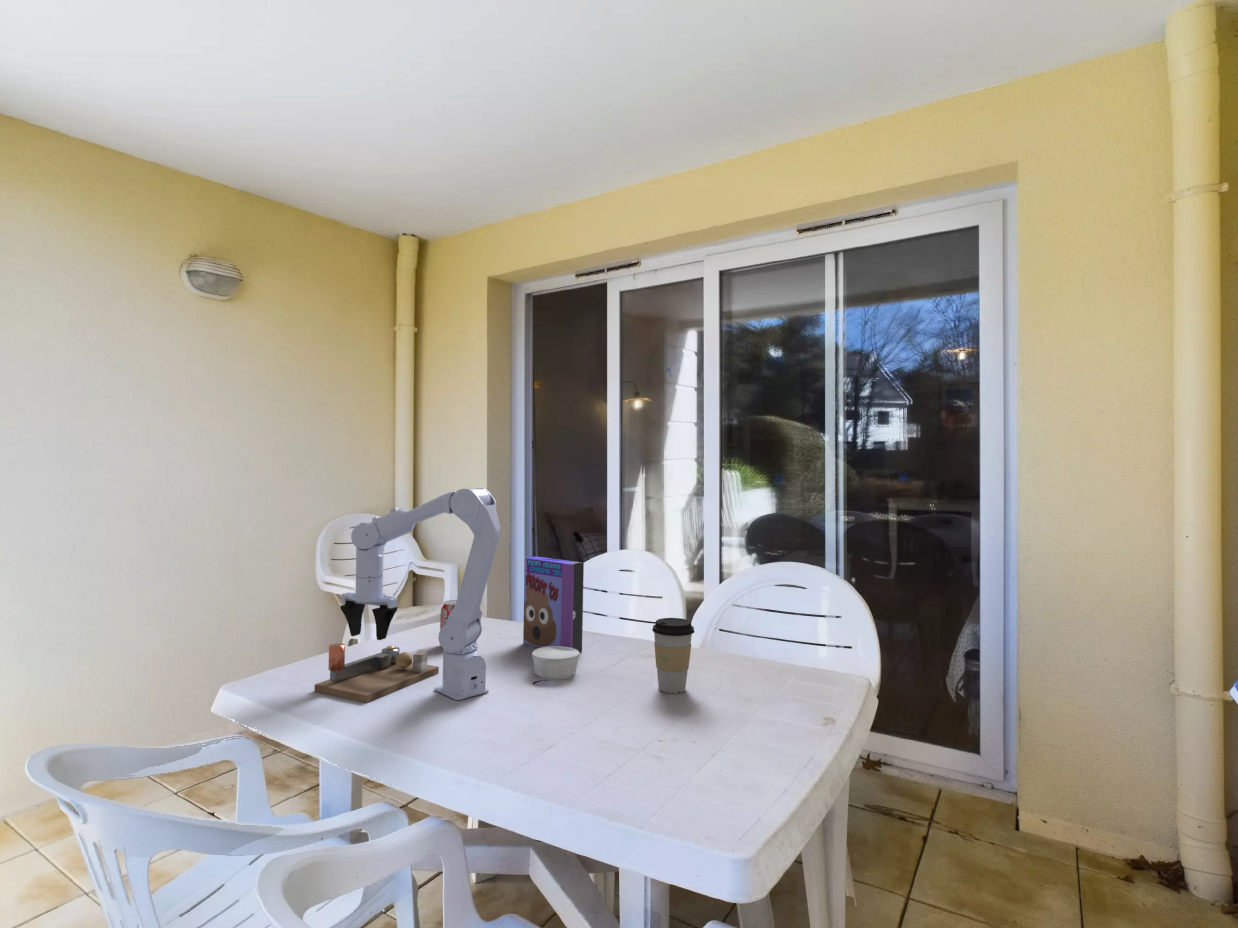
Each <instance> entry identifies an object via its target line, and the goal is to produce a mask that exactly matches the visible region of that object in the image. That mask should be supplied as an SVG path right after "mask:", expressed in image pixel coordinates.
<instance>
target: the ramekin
mask: <svg viewBox="0 0 1238 928" xmlns="http://www.w3.org/2000/svg"><path fill="white" fill-rule="evenodd" d="M531 658H532V661H533V669H534V674H536V675H537V677H538V678H540V679H541V678H542V679H543V680H552V681H553V680H565V679H569V678H572V677H573V676H574V675H575V674H576V671H577V666H578V661H579V658H580V653H579V651H578V650H576V649H573V648H569V647H562V646H549V647H542V648H538V647H537V648H536V649H534V650H533V651H532V652H531Z"/></svg>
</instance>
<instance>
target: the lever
mask: <svg viewBox="0 0 1238 928" xmlns="http://www.w3.org/2000/svg"><path fill="white" fill-rule="evenodd" d="M400 650H401V649H400V647H397V646H395V645H388V646H386V647H383V648H382V649H381V652H378V653H375V654H371V655H369V656H365V657H362V658H360V659H356V660H354V661H351V662H348V663H345V660H346V644H345V643H332V644H330V645H328V671H329V679H330V681H333V682H336V681H339V680H342V679H344V678H347V677H350V676H353V675H356V674H358V673H361V672H364V671H367V670H370V669H373V668H375V667H376V668H381V669H382V668H384V667H387V666H390V665H391V664H395V663H396V658H397V656H398V655H399V654H400Z"/></svg>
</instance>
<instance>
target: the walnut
mask: <svg viewBox="0 0 1238 928" xmlns="http://www.w3.org/2000/svg"><path fill="white" fill-rule="evenodd" d="M412 662H413V655H411V653H409V652H407V651H403V652H399V655H398V656H397V658H396V664H397V665H398V666H399V667H400V668H407V667H409V666H410V665H411V663H412Z"/></svg>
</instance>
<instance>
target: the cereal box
mask: <svg viewBox="0 0 1238 928" xmlns="http://www.w3.org/2000/svg"><path fill="white" fill-rule="evenodd" d="M584 565H585V563H584V562H581V561H575V560H573V561H572V560H564V559H558V558H550V557H542V556H528V557H525V558H524V584H523V585H524V586H523V587H524V592H523V594H524V595H523V632H522V633H523V634H522V635H523V637H522V644H523V645H526V646H531V647H534V648H537V649H538V648H542V647H549V646H562V647H569V648H573V649H576V650H578V651H579V654H580V653H582V652H583V627H584V626H583V620H584V618H583V617H584V614H583V613H584V611H583V610H584V576H585V575H584V572H585V571H584Z"/></svg>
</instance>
